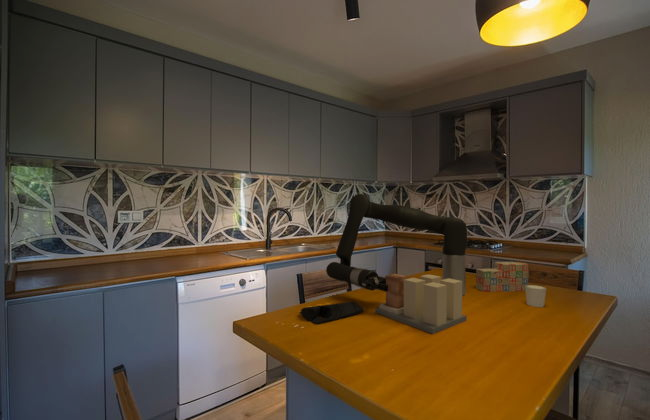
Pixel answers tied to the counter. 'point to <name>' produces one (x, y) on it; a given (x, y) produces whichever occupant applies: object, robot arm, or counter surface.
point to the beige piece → (535, 295)
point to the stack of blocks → (503, 277)
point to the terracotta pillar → (395, 291)
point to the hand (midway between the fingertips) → (395, 286)
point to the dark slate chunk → (330, 312)
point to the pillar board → (428, 304)
